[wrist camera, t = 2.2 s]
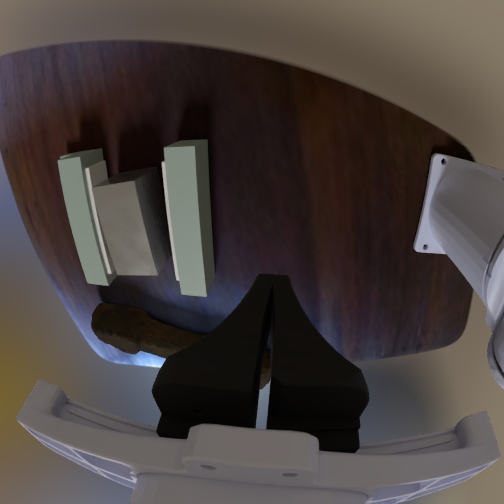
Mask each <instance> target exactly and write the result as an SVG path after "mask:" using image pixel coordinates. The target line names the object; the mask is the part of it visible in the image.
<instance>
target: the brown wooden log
mask: <svg viewBox="0 0 504 504" xmlns="http://www.w3.org/2000/svg"><path fill="white" fill-rule="evenodd" d="M91 327H92V330H93V332H94V333H95V335H96V336H97V337H98V339H100V340H101V341H103V342H104V343H106V344H110V345H112V346H113V347H115V348H118V349H119V350H121V351H123V352H126V353H129V354H137V353H138V352H139V351H143V352H147V353H151V354H154V355H157V356H160V357H162V358H166V359H167V357H168V356H170V355H172V354H174V353H176V352H179V351H181V350H183V349H185V348H187V347H188V346H190V345H192V344H193V343H195V342H197V341H198V340H200V339H201V338H203V337H204V336H206V335H204V334H197V333H194V332H191V331H189V330H184V329H181V328H178V327H175V326H172V325H168V324H165V323H162V322H160V321H157V320H154V319H152V318H151V316H150V314H149V313H148V312H147V311H145V310H141V309H138V308H134V307H130V306H125V305H119V304H112V303H100V304H99V305H98V306H97V307H96V309H95V310H94V312H93V314H92V322H91ZM270 378H271V349H270V350H267V351H266V352H265V357H264V362H263V366H262V372H261V380H260V389H263V388H264V387H265V385H266V384H268V383H269V381H270Z"/></svg>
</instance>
